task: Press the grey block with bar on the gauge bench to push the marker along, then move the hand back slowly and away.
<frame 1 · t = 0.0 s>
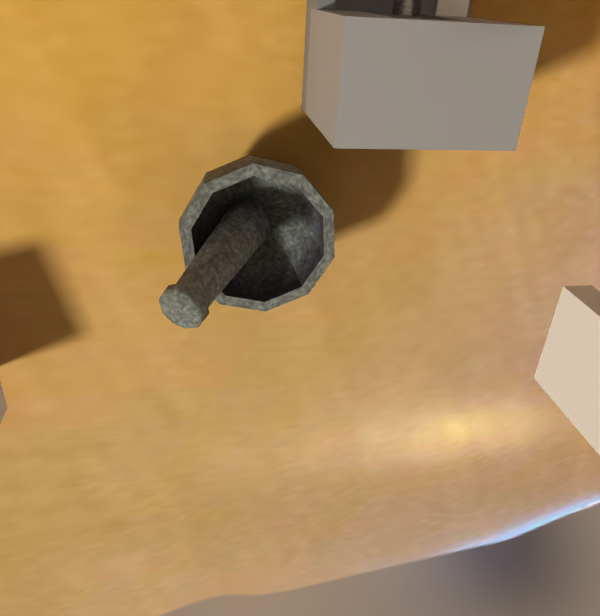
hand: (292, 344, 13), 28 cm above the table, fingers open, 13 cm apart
mortar and pestle: (241, 207, 41), on the table
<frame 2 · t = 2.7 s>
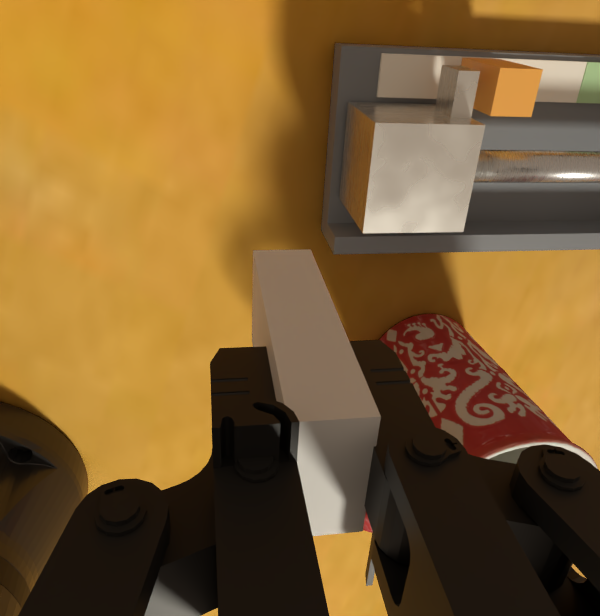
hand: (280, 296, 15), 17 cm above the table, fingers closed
mug: (394, 361, 39), on the table
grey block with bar: (545, 146, 28), point 4 cm above the table, slide at 0.0 cm
gauge bench: (545, 146, 33), on the table
marker: (495, 86, 26), point 4 cm above the table, slide at 0.0 cm
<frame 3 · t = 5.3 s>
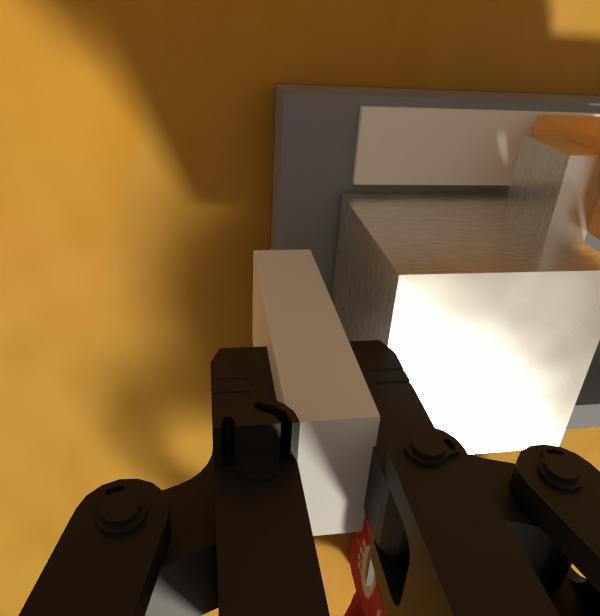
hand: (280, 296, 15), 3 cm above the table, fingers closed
mug: (387, 543, 26), on the table
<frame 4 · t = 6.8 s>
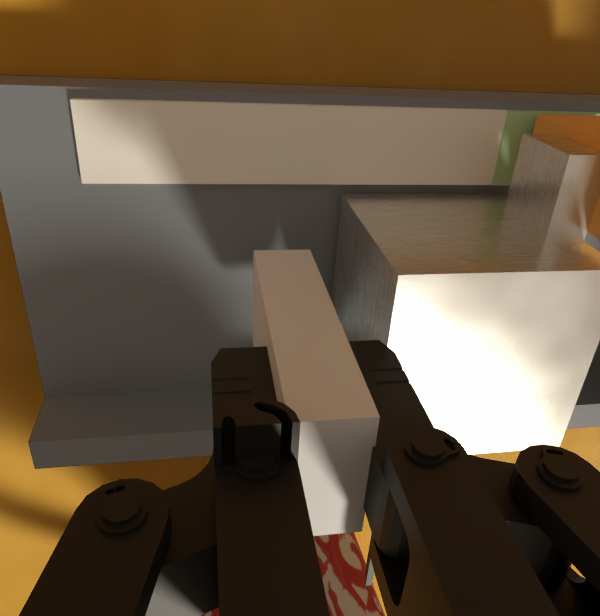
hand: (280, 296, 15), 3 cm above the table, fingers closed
mug: (238, 559, 25), on the table
gauge bench: (449, 250, 19), on the table
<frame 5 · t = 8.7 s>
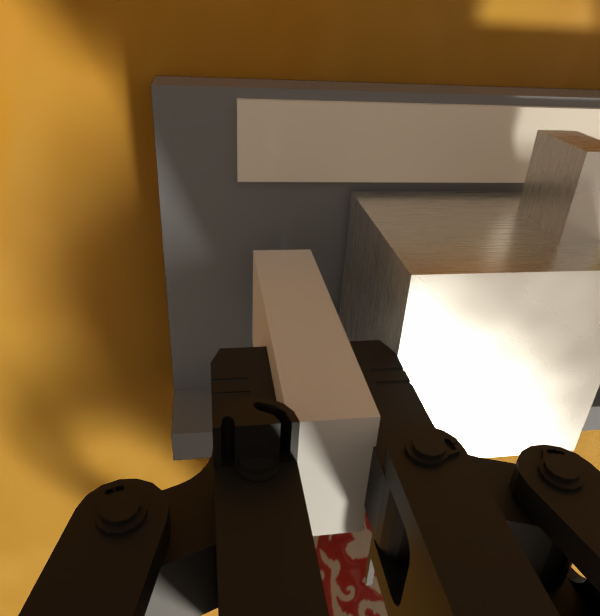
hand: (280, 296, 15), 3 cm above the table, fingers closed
mug: (325, 552, 25), on the table
gauge bench: (562, 247, 19), on the table
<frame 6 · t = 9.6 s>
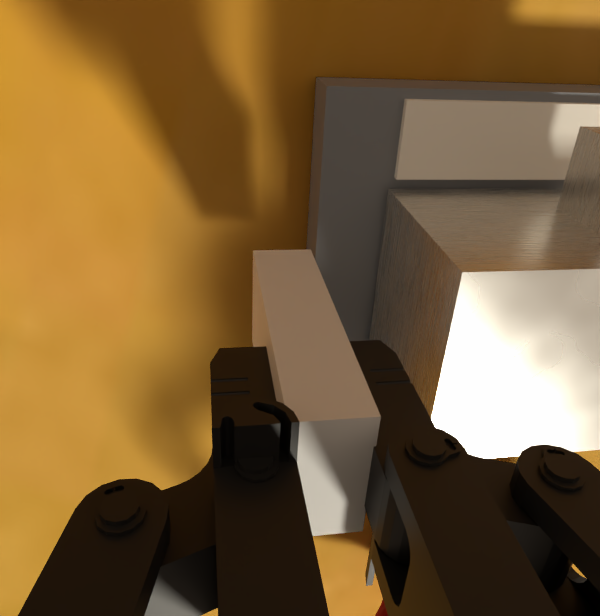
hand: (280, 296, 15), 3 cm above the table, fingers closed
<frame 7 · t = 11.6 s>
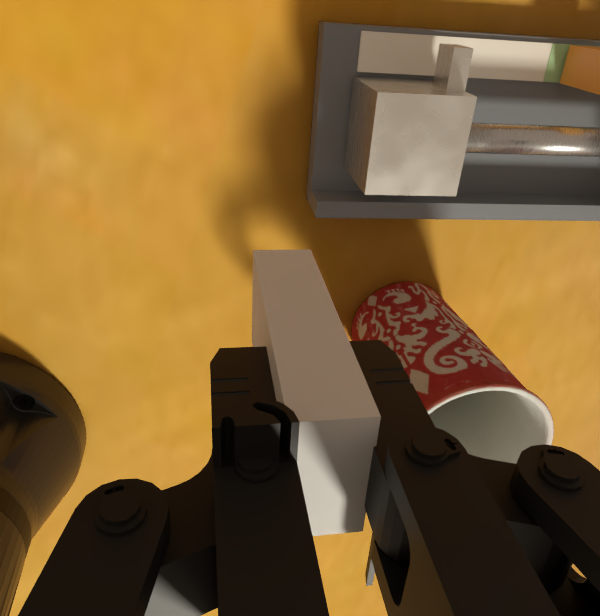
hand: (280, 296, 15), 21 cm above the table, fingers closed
mug: (375, 327, 42), on the table
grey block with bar: (533, 121, 31), point 4 cm above the table, slide at 1.3 cm
gauge bench: (516, 124, 35), on the table
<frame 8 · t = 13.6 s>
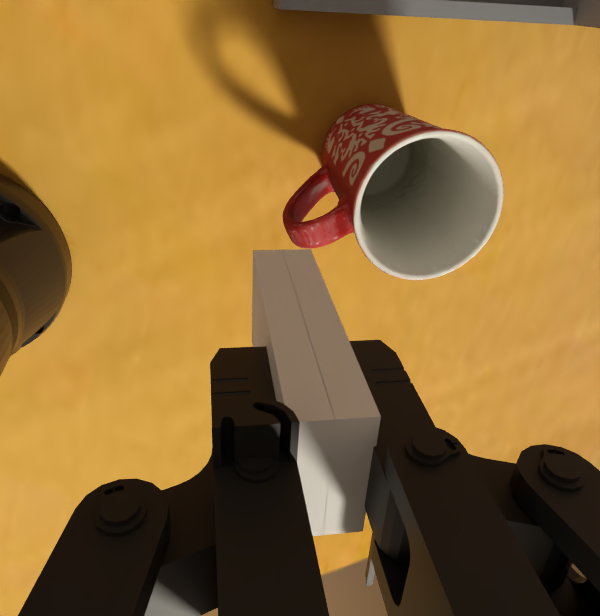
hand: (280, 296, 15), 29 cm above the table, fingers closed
mug: (345, 156, 44), on the table
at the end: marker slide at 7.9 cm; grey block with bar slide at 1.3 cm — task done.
